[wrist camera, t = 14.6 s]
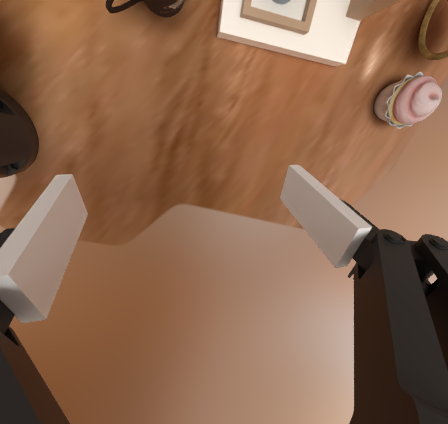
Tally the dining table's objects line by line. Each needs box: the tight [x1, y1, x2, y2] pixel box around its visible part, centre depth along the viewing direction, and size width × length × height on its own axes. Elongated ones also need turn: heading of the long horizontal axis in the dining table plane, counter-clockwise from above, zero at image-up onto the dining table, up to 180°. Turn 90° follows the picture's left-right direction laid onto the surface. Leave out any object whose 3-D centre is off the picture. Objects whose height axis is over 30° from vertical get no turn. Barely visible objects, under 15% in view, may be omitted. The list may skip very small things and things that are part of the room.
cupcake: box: [374, 72, 442, 129], centre depth 39 cm, size 9×9×10 cm
